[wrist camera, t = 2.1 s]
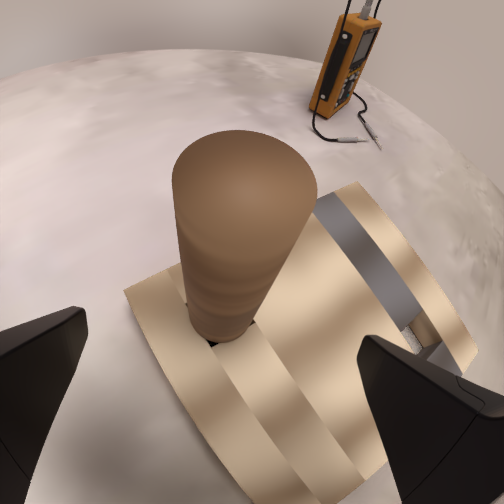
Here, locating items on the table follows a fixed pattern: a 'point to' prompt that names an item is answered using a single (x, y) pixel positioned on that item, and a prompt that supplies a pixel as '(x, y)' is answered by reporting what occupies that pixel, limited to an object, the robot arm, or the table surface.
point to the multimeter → (345, 65)
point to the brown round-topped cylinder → (237, 224)
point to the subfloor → (305, 353)
